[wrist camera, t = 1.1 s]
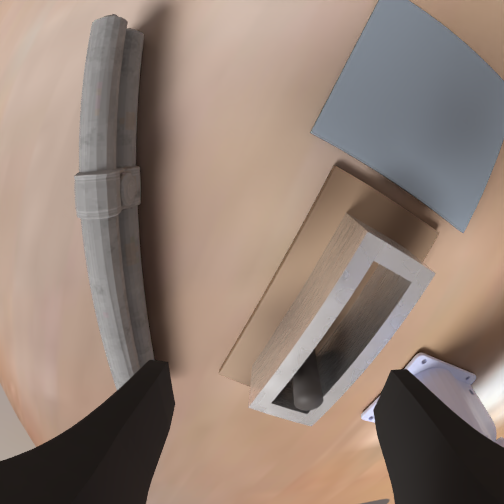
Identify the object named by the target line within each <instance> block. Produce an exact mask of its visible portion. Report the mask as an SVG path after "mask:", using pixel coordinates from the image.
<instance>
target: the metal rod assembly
mask: <svg viewBox="0 0 504 504" xmlns="http://www.w3.org/2000/svg"><path fill="white" fill-rule="evenodd" d="M127 23H128V22H127V21H126V20H125V19H123V18H122V17H118V16H117V15H115V14H113V15H108V16H105V17H103V18H100V19H97V20H95V21H94V22H93V23H92V27H91V33H90V38H89V44H88V50H87V56H86V63H85V70H84V79H83V88H82V99H81V113H80V135H79V173H77V174H76V175H75V176H74V178H75V204H76V211H77V217H78V218H81V225H82V234H83V242H84V250H85V257H86V264H87V270H88V276H89V282H90V288H91V293H92V298H93V303H94V308H95V312H96V317H97V321H98V325H99V330H100V334H101V338H102V341H103V345H104V349H105V353H106V356H107V360H108V363H109V366H110V370H111V373H112V376H113V379H114V383H115V386H116V389H117V390H118V389H119V388H120V387H121V386H123V385H124V384H125V383H126V382H127V381H128V380H129V379H130V378H131V377H132V376H133V375H134V374H135V373H136V372H137V371H138V370H139V369H140V368H141V367H142V366H143V365H144V364H145V363H146V362H147V361H149V360H154V354H153V348H152V342H151V336H150V330H149V323H148V316H147V309H146V301H145V293H144V284H143V274H142V264H141V252H140V239H139V223H138V205H139V204H141V199H140V198H141V179H140V167H138V166H137V165H136V133H137V109H138V93H139V80H140V69H141V59H142V50H143V42H144V34H143V33H142V32H140V31H137V30H135V29H131V28H128V29H126V28H127Z"/></svg>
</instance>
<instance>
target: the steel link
mask: <svg viewBox="0 0 504 504" xmlns="http://www.w3.org/2000/svg"><path fill="white" fill-rule="evenodd" d="M373 261H375V262H377V263H378V264H379V265H378V267H377V268H376V270H375V272H374V273H373V275H372V276H371V278H370V280H369V281H368V283H367V284H366V286H365V287H364V289H363V290H362V292H361V293H360V295H359V296H358V298H357V299H356V301H355V302H354V304H353V305H352V307H351V308H350V310H349V311H348V313H347V314H346V316H345V317H344V318H343V320H342V321H341V323H340V324H339V325H338V327H337V328H336V330H335V331H334V332H333V334H332V335H331V337H330V338H329V339H328V341H327V342H326V343H325V345H324V346H323V347H322V349H321V350H320V351H319V353H318V354H317V355H316V359H317V365H318V371H319V376H320V382H321V388H322V394H323V403H322V404H321V405H320V406H319V407H318V408H316V409H313V410H308V411H304V410H300V409H298V408H296V407H295V405H294V396H293V381H292V377H293V376H294V374H295V373H296V372H297V371H298V369H299V368H300V367H301V366H302V364H303V363H304V362H305V360H306V359H307V358H308V356H309V355H310V354H311V352H312V351H313V350H314V348H315V347H316V346H317V344H318V343H319V342H320V340H321V339H322V338H323V336H324V335H325V333H326V332H327V331H328V329H329V328H330V326H331V325H332V324H333V322H334V321H335V319H336V318H337V316H338V315H339V313H340V312H341V311H342V309H343V308H344V306H345V305H346V303H347V302H348V300H349V299H350V297H351V296H352V294H353V293H354V291H355V290H356V288H357V287H358V285H359V283H360V282H361V280H362V279H363V277H364V276H365V274H366V272H367V271H368V269H369V268H370V266H371V264H372V263H373ZM434 275H435V272H433V271H432V270H431V269H430V268H429V267H428V266H426V265H425V264H424V263H423V262H422V261H421V260H419V259H418V258H417V257H416V256H415V255H413V254H412V253H411V252H410V251H408V250H407V249H406V248H405V247H403V246H401V245H400V244H398V243H397V242H395V241H393V240H392V239H390V238H388V237H387V236H385V235H384V234H382V233H380V232H378V231H377V230H375V229H373V228H372V227H370V226H368V225H367V224H365V223H363V222H361V221H360V220H358V219H356V218H355V217H353V216H351V215H349V214H347V213H346V214H345V215H344V217H343V219H342V221H341V223H340V224H339V226H338V228H337V230H336V231H335V233H334V235H333V237H332V239H331V240H330V242H329V244H328V246H327V247H326V249H325V251H324V252H323V254H322V256H321V258H320V259H319V261H318V263H317V264H316V266H315V268H314V269H313V271H312V273H311V274H310V276H309V278H308V279H307V281H306V283H305V284H304V286H303V288H302V289H301V291H300V293H299V294H298V296H297V297H296V299H295V301H294V302H293V304H292V306H291V307H290V309H289V310H288V312H287V313H286V315H285V317H284V318H283V320H282V321H281V323H280V324H279V326H278V328H277V329H276V331H275V332H274V334H273V335H272V337H271V338H270V340H269V341H268V343H267V344H266V346H265V348H264V349H263V351H262V352H261V354H260V355H259V357H258V358H257V360H256V361H255V362H254V364H253V365H252V373H251V384H250V394H249V404H248V407H249V408H251V409H254V410H257V411H261V412H264V413H267V414H270V415H273V416H276V417H280V418H283V419H287V420H290V421H294V422H297V423H301V424H305V425H309V426H312V425H313V424H315V423H316V422H317V421H318V420H319V419H320V418H321V417H322V416H323V415H324V414H325V413H326V412H327V411H328V410H329V409H330V408H331V407H332V406H333V405H334V404H335V402H336V401H337V400H338V399H339V398H340V397H341V396H342V395H343V394H344V393H345V392H346V391H347V390H348V389H349V388H350V386H351V385H352V384H353V383H354V382H355V381H356V380H357V379H358V377H359V376H360V375H361V374H362V373H363V372H364V371H365V369H366V368H367V367H368V366H369V365H370V363H371V362H372V361H373V360H374V359H375V357H376V356H377V355H378V354H379V353H380V351H381V350H382V349H383V348H384V346H385V345H386V344H387V342H388V341H389V340H390V339H391V337H392V336H393V335H394V333H395V332H396V331H397V329H398V328H399V327H400V325H401V324H402V323H403V321H404V320H405V318H406V317H407V316H408V314H409V313H410V311H411V310H412V309H413V307H414V306H415V304H416V303H417V301H418V300H419V298H420V297H421V295H422V294H423V292H424V291H425V289H426V288H427V286H428V285H429V283H430V281H431V280H432V278H433V277H434Z"/></svg>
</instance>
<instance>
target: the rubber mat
mask: <svg viewBox="0 0 504 504" xmlns="http://www.w3.org/2000/svg"><path fill="white" fill-rule="evenodd" d="M310 133H311V134H313V135H315V136H317V137H319V138H321V139H322V140H324V141H326V142H328V143H330V144H331V145H333V146H335V147H337V148H339V149H340V150H342V151H344V152H345V153H347V154H349V155H351V156H352V157H354V158H356V159H357V160H359V161H361V162H362V163H364V164H366V165H367V166H369V167H370V168H372V169H374V170H375V171H377V172H378V173H380V174H381V175H383V176H385V177H386V178H388V179H389V180H391V181H392V182H394V183H395V184H397V185H398V186H400V187H401V188H403V189H404V190H405V191H407V192H408V193H410V194H411V195H413V196H414V197H415V198H417V199H418V200H420V201H421V202H422V203H424V204H425V205H427V206H428V207H429V208H431V209H432V210H433V211H435V212H436V213H437V214H439V215H440V216H441V217H443V218H444V219H445V220H446V221H448V222H449V223H450V224H451V225H453V226H454V227H455V228H456V229H458V230H459V231H460V232H462V233H464V231H465V229H466V227H467V225H468V223H469V221H470V219H471V217H472V215H473V213H474V211H475V209H476V207H477V205H478V202H479V200H480V198H481V196H482V194H483V191H484V189H485V187H486V184H487V182H488V180H489V177H490V175H491V172H492V170H493V167H494V165H495V162H496V159H497V157H498V154H499V151H500V149H501V146H502V143H503V140H504V81H503V80H502V78H501V77H500V76H499V75H498V74H497V73H496V72H495V71H494V70H493V69H492V68H491V67H490V66H489V65H488V64H487V63H486V62H485V61H484V60H483V59H482V58H481V57H480V56H479V55H478V54H477V53H476V52H474V51H473V50H472V49H471V48H470V47H469V46H468V45H467V44H466V43H464V42H463V41H462V40H461V39H460V38H459V37H457V36H456V35H455V34H454V33H453V32H451V31H450V30H449V29H448V28H446V27H445V26H444V25H442V24H441V23H440V22H439V21H437V20H436V19H435V18H433V17H432V16H430V15H429V14H428V13H426V12H425V11H423V10H422V9H421V8H419V7H418V6H416V5H415V4H413V3H412V2H410V1H408V0H379V1H378V3H377V5H376V7H375V8H374V10H373V12H372V14H371V16H370V18H369V20H368V22H367V24H366V26H365V28H364V30H363V32H362V34H361V35H360V37H359V39H358V41H357V43H356V45H355V47H354V49H353V51H352V53H351V55H350V57H349V59H348V61H347V62H346V64H345V66H344V68H343V70H342V72H341V74H340V76H339V78H338V80H337V82H336V84H335V86H334V88H333V90H332V92H331V93H330V95H329V97H328V99H327V101H326V103H325V105H324V107H323V109H322V111H321V113H320V115H319V117H318V119H317V121H316V123H315V125H314V126H313V128H312V130H311V132H310Z"/></svg>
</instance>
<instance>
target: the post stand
mask: <svg viewBox="0 0 504 504" xmlns="http://www.w3.org/2000/svg"><path fill="white" fill-rule="evenodd" d="M346 213H347V214H349V215H351V216H353V217H355V218H356V219H358V220H360V221H361V222H363V223H365V224H367V225H368V226H370V227H372V228H373V229H375V230H377V231H378V232H380V233H382V234H384V235H385V236H387V237H388V238H390V239H392V240H393V241H395V242H397V243H398V244H400V245H401V246H403V247H405V248H406V249H407V250H408V251H410V252H411V253H412V254H413V255H415V256H416V257H417V258H418V259H419V260H421V261H422V262H423V261H424V259H425V257H426V256H427V254H428V252H429V251H430V249H431V247H432V245H433V244H434V242H435V240H436V238H437V236H438V235H439V232H438V231H436V230H435V229H433V228H432V227H431V226H429V225H428V224H426V223H425V222H424V221H422V220H421V219H419V218H418V217H417V216H415V215H414V214H412V213H411V212H409V211H408V210H406V209H405V208H403V207H402V206H400V205H399V204H397V203H396V202H394V201H393V200H391V199H390V198H388V197H387V196H385V195H383V194H382V193H380V192H379V191H377V190H376V189H374V188H372V187H371V186H369V185H367V184H366V183H364V182H362V181H361V180H359V179H357V178H356V177H354V176H352V175H351V174H349V173H347V172H346V171H344V170H342V169H340V168H339V167H337V166H333V168H332V170H331V172H330V174H329V175H328V177H327V179H326V181H325V183H324V185H323V187H322V189H321V191H320V193H319V194H318V196H317V198H316V200H315V202H314V204H313V206H312V208H311V209H310V211H309V213H308V215H307V217H306V219H305V221H304V222H303V224H302V226H301V228H300V230H299V232H298V233H297V235H296V237H295V239H294V241H293V243H292V244H291V246H290V248H289V250H288V252H287V253H286V255H285V257H284V259H283V261H282V262H281V264H280V266H279V268H278V270H277V271H276V273H275V275H274V277H273V278H272V280H271V282H270V284H269V286H268V287H267V289H266V291H265V293H264V294H263V296H262V298H261V300H260V301H259V303H258V305H257V307H256V308H255V310H254V312H253V314H252V315H251V317H250V319H249V320H248V322H247V324H246V326H245V327H244V329H243V331H242V332H241V334H240V336H239V338H238V339H237V341H236V343H235V344H234V346H233V348H232V349H231V351H230V353H229V355H228V356H227V358H226V360H225V361H224V363H223V365H222V366H221V368H220V370H219V375H221V376H224V377H226V378H229V379H231V380H234V381H236V382H239V383H242V384H244V385H247V386H250V384H251V373H252V365H253V364H254V362H255V361H256V360H257V358H258V357H259V355H260V354H261V352H262V351H263V349H264V348H265V346H266V344H267V343H268V341H269V340H270V338H271V337H272V335H273V334H274V332H275V331H276V329H277V328H278V326H279V324H280V323H281V321H282V320H283V318H284V317H285V315H286V313H287V312H288V310H289V309H290V307H291V306H292V304H293V302H294V301H295V299H296V297H297V296H298V294H299V293H300V291H301V289H302V288H303V286H304V284H305V283H306V281H307V279H308V278H309V276H310V274H311V273H312V271H313V269H314V268H315V266H316V264H317V263H318V261H319V259H320V258H321V256H322V254H323V252H324V251H325V249H326V247H327V246H328V244H329V242H330V240H331V239H332V237H333V235H334V233H335V231H336V230H337V228H338V226H339V224H340V223H341V221H342V219H343V217H344V215H345V214H346ZM378 265H379V264H378V263H377V262H375V261H373V263H372V264H371V266H370V268H369V269H368V271H367V272H366V274H365V276H364V277H363V279H362V280H361V282H360V283H359V285H358V287H357V288H356V290H355V291H354V293H353V294H352V296H351V297H350V299H349V300H348V302H347V303H346V305H345V306H344V308H343V309H342V311H341V312H340V313H339V315H338V316H337V318H336V319H335V321H334V322H333V324H332V325H331V326H330V328H329V329H328V331H327V332H326V333H325V335H324V336H323V338H322V339H321V340H320V342H319V343H318V344H317V346H316V347H315V348H314V350H313V351H312V352H311V354H310V355H309V356H308V358H307V359H306V360H305V362H304V363H303V364H302V366H301V367H300V368H299V369H298V371H297V372H296V373H295V374H294V376H293V377H292V381H293V396H294V405H295V407H296V408H298V409H300V410H304V411H308V410H313V409H316V408H318V407H319V406H320V405H321V404H322V403H323V394H322V388H321V382H320V376H319V371H318V365H317V359H316V355H317V354H318V353H319V351H320V350H321V349H322V347H323V346H324V345H325V343H326V342H327V341H328V339H329V338H330V337H331V335H332V334H333V332H334V331H335V330H336V328H337V327H338V325H339V324H340V323H341V321H342V320H343V318H344V317H345V316H346V314H347V313H348V311H349V310H350V308H351V307H352V305H353V304H354V302H355V301H356V299H357V298H358V296H359V295H360V293H361V292H362V290H363V289H364V287H365V286H366V284H367V283H368V281H369V280H370V278H371V276H372V275H373V273H374V272H375V270H376V268H377V267H378Z"/></svg>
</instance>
